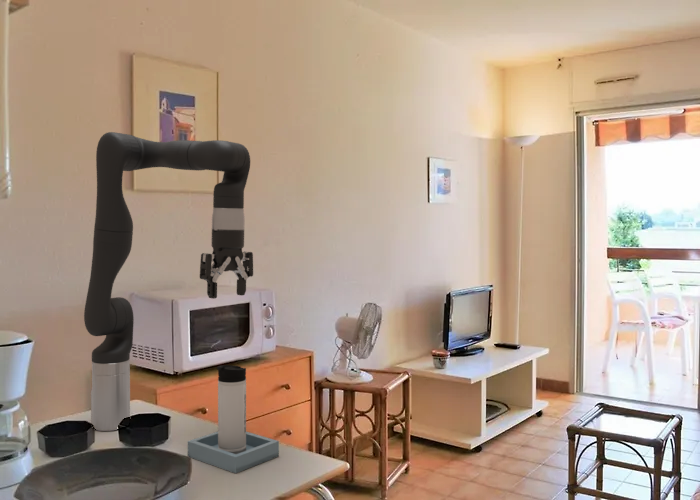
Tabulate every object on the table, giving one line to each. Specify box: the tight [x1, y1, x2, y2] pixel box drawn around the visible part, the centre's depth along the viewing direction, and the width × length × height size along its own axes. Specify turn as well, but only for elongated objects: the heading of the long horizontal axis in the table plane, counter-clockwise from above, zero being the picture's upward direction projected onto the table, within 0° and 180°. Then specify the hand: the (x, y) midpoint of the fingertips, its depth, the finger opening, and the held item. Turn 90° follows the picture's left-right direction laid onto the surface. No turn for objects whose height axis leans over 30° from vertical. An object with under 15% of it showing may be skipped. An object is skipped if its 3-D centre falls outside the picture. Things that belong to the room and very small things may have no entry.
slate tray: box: [187, 431, 280, 474], centre depth 148 cm, size 16×13×4 cm
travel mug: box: [216, 364, 247, 454], centre depth 147 cm, size 6×7×20 cm
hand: (226, 296), depth 153 cm, fingers open, 8 cm apart
